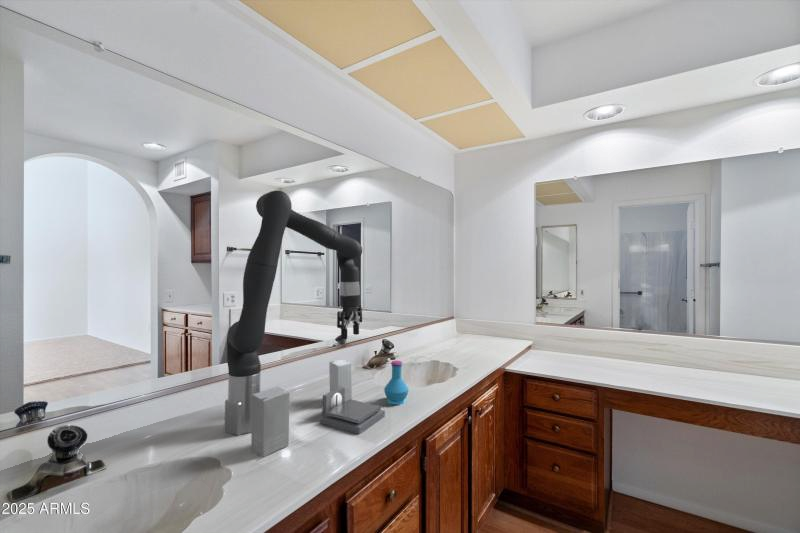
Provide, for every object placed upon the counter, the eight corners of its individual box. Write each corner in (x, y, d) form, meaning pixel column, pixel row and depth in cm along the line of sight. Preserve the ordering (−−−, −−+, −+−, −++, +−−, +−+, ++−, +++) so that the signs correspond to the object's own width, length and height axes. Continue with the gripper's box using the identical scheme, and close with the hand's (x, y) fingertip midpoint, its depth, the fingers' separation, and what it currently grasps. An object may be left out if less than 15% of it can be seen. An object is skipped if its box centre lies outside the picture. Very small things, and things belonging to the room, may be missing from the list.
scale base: (359, 434, 110) (359, 407, 110) (317, 422, 118) (317, 397, 118) (384, 416, 123) (385, 393, 123) (345, 407, 131) (345, 384, 131)
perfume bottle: (412, 404, 135) (412, 363, 135) (388, 407, 132) (389, 365, 132) (402, 395, 143) (403, 357, 144) (380, 398, 140) (381, 359, 140)
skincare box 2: (352, 403, 134) (352, 363, 134) (337, 406, 131) (337, 365, 131) (342, 396, 141) (343, 358, 142) (328, 399, 138) (328, 360, 138)
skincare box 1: (276, 439, 106) (277, 385, 106) (290, 447, 101) (291, 390, 101) (248, 450, 99) (249, 392, 99) (262, 459, 95) (263, 398, 95)
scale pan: (358, 425, 111) (358, 420, 111) (325, 416, 117) (325, 411, 117) (380, 410, 123) (380, 406, 123) (349, 403, 129) (349, 399, 129)
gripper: (351, 291, 144) (351, 332, 144) (330, 295, 131) (331, 339, 131) (367, 292, 141) (368, 333, 142) (348, 295, 128) (349, 341, 128)
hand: (350, 336), depth 136 cm, fingers open, 8 cm apart
